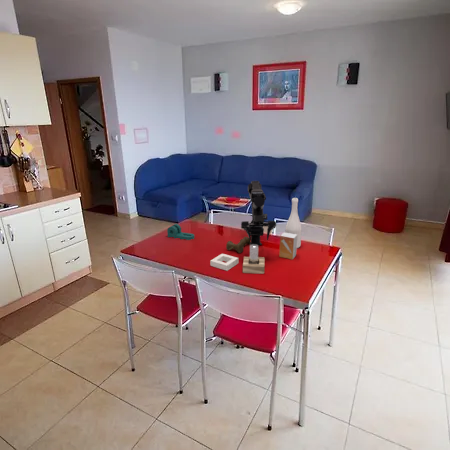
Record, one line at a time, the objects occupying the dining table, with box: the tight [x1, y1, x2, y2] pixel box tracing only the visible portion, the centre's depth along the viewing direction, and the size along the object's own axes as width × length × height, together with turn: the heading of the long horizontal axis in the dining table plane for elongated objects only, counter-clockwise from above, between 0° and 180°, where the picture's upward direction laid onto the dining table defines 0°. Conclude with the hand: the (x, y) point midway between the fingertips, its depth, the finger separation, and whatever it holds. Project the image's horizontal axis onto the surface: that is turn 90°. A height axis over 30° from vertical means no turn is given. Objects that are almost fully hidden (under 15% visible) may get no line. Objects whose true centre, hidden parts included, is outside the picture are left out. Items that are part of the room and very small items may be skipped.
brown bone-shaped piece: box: [225, 236, 251, 254], centre depth 191 cm, size 6×10×20 cm
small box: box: [278, 231, 298, 260], centre depth 178 cm, size 8×6×13 cm
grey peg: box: [249, 244, 259, 264], centre depth 165 cm, size 4×4×13 cm
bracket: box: [167, 223, 195, 241], centre depth 211 cm, size 18×7×8 cm, turn 67°
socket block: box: [242, 256, 265, 275], centre depth 166 cm, size 11×11×4 cm
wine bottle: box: [284, 197, 302, 249], centre depth 189 cm, size 10×10×30 cm
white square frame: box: [209, 253, 240, 272], centre depth 172 cm, size 11×11×3 cm
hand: (258, 240), depth 170 cm, fingers open, 9 cm apart
